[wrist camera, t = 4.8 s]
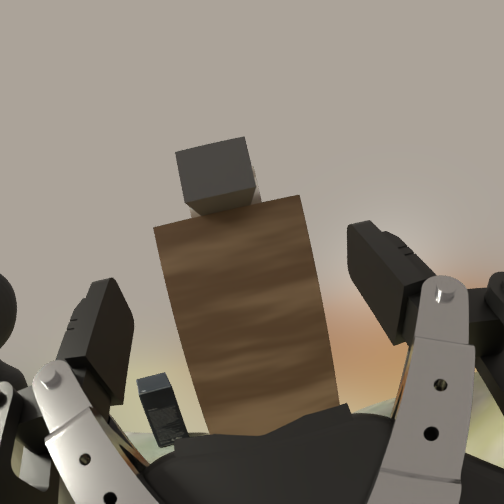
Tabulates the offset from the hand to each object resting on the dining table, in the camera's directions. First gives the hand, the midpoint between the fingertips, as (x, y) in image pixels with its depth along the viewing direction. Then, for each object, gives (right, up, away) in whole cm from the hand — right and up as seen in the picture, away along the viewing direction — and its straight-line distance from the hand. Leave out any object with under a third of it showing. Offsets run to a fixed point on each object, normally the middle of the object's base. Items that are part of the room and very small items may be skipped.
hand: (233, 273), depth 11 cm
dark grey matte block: (-2, +4, +16) cm, 17 cm away
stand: (+5, -27, +22) cm, 35 cm away
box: (-13, -31, +38) cm, 51 cm away
